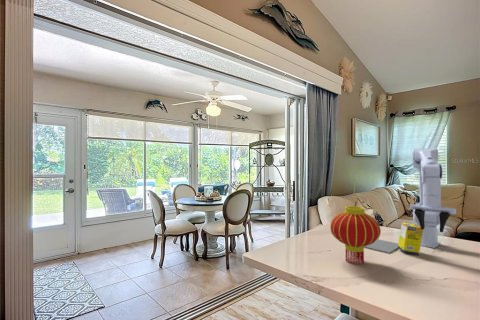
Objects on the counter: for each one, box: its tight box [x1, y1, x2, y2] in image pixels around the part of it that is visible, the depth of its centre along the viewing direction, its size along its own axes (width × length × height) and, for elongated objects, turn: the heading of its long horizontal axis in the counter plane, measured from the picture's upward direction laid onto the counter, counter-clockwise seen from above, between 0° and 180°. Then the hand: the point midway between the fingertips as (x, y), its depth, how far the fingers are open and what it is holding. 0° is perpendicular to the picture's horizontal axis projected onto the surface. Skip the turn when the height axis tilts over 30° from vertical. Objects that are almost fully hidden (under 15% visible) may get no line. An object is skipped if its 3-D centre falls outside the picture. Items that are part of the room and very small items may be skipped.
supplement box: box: [397, 221, 423, 256], centre depth 109 cm, size 6×6×11 cm
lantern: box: [329, 180, 381, 266], centre depth 99 cm, size 17×17×30 cm
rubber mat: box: [364, 238, 400, 255], centre depth 118 cm, size 16×15×1 cm
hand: (431, 230), depth 103 cm, fingers open, 5 cm apart
